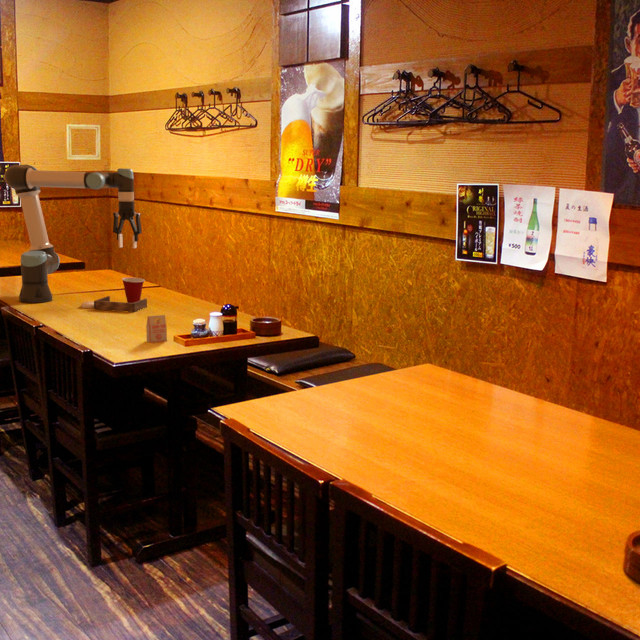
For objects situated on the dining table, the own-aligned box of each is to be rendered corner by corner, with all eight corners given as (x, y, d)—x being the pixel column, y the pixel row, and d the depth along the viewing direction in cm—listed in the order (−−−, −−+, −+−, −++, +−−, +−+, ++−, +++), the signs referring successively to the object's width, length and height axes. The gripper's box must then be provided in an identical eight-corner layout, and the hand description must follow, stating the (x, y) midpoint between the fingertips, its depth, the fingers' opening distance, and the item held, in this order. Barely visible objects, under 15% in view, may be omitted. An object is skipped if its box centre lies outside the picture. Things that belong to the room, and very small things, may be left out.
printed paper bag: (146, 341, 292) (146, 315, 289) (163, 339, 295) (163, 314, 293) (149, 343, 288) (149, 317, 286) (166, 341, 292) (166, 315, 290)
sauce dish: (78, 308, 352) (77, 304, 351) (86, 305, 359) (86, 301, 359) (93, 309, 350) (93, 305, 350) (102, 306, 358) (102, 302, 357)
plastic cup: (142, 305, 360) (141, 280, 358) (119, 305, 361) (118, 280, 358) (148, 301, 371) (147, 277, 368) (126, 300, 371) (125, 276, 369)
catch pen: (94, 309, 349) (93, 300, 348) (108, 304, 361) (107, 296, 360) (134, 312, 344) (134, 303, 344) (147, 307, 357) (146, 298, 356)
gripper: (148, 200, 372) (149, 247, 376) (111, 199, 376) (113, 246, 381) (141, 201, 364) (142, 249, 369) (104, 200, 369) (105, 247, 373)
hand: (127, 247), depth 375 cm, fingers open, 7 cm apart
